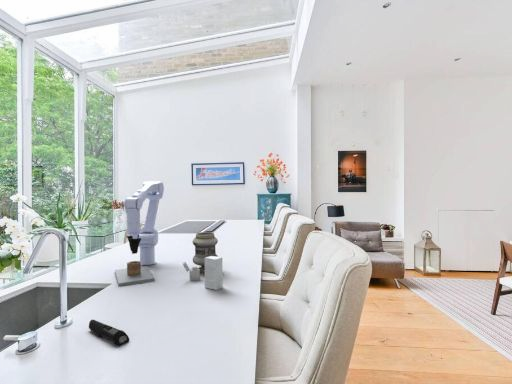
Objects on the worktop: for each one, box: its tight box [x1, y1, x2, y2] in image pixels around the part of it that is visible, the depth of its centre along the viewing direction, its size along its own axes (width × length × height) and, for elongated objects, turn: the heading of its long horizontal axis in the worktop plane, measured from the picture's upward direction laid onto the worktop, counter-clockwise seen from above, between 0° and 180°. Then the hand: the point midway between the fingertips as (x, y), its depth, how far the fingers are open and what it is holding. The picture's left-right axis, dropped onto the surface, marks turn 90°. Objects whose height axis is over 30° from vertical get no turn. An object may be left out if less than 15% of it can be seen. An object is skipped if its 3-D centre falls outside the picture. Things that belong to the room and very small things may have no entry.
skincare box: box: [204, 256, 224, 291], centre depth 118 cm, size 6×4×12 cm
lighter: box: [182, 261, 201, 281], centre depth 128 cm, size 7×2×8 cm, turn 107°
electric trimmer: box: [88, 319, 130, 347], centre depth 80 cm, size 4×16×3 cm, turn 56°
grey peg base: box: [114, 263, 156, 287], centre depth 133 cm, size 22×14×6 cm, turn 29°
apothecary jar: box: [192, 231, 219, 275], centre depth 141 cm, size 12×12×18 cm
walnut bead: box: [126, 260, 142, 276], centre depth 133 cm, size 5×5×5 cm
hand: (133, 251), depth 140 cm, fingers open, 7 cm apart
